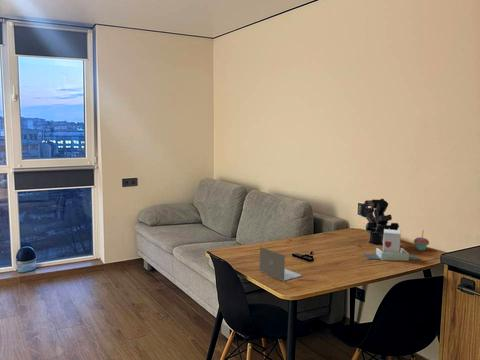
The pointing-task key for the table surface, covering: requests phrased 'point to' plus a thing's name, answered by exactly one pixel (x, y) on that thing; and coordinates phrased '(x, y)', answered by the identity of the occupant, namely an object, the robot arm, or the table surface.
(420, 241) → the cupcake
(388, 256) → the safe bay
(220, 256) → the table surface
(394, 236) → the supplement box
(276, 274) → the laptop
